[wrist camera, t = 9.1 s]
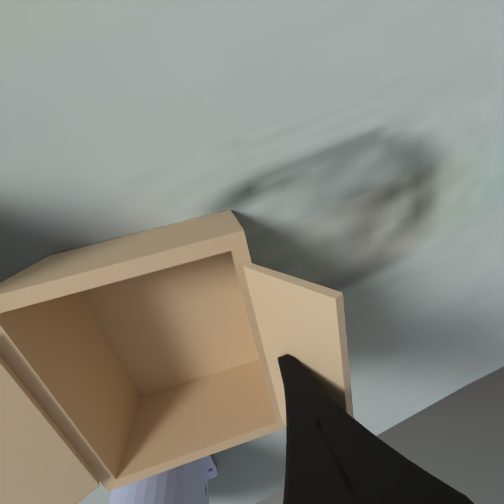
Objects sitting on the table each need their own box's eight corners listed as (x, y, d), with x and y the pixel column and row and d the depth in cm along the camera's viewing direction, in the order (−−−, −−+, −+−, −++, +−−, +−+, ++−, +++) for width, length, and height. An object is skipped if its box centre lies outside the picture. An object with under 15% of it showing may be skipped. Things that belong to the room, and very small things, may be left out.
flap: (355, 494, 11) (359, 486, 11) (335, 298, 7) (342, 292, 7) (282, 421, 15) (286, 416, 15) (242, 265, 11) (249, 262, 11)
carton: (268, 359, 21) (290, 426, 16) (134, 402, 20) (108, 491, 15) (230, 209, 16) (243, 230, 11) (49, 255, 15) (-41, 305, 10)
